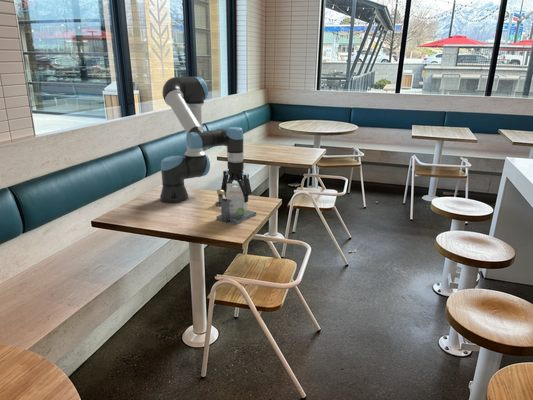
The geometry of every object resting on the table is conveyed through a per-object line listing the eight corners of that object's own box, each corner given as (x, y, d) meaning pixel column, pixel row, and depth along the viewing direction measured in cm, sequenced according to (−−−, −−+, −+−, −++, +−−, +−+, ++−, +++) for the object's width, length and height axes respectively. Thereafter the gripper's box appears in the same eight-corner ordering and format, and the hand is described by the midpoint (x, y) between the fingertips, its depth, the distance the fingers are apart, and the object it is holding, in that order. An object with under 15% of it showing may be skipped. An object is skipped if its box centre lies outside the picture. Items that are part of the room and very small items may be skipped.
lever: (215, 194, 213) (215, 189, 212) (220, 193, 216) (220, 188, 215) (241, 200, 204) (241, 195, 203) (245, 198, 207) (245, 193, 206)
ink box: (246, 210, 198) (245, 181, 194) (244, 213, 193) (244, 183, 189) (228, 209, 199) (227, 180, 194) (226, 212, 194) (225, 183, 190)
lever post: (212, 204, 215) (212, 194, 213) (220, 201, 219) (220, 192, 218) (221, 207, 211) (221, 196, 210) (228, 204, 216) (228, 194, 214)
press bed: (214, 220, 193) (213, 198, 189) (237, 210, 207) (237, 189, 203) (233, 225, 186) (232, 203, 183) (256, 214, 200) (256, 193, 197)
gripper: (212, 159, 192) (214, 204, 199) (249, 165, 179) (250, 212, 186) (222, 156, 197) (224, 200, 204) (259, 162, 185) (259, 208, 192)
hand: (236, 206), depth 195 cm, fingers closed on ink box, 10 cm apart
